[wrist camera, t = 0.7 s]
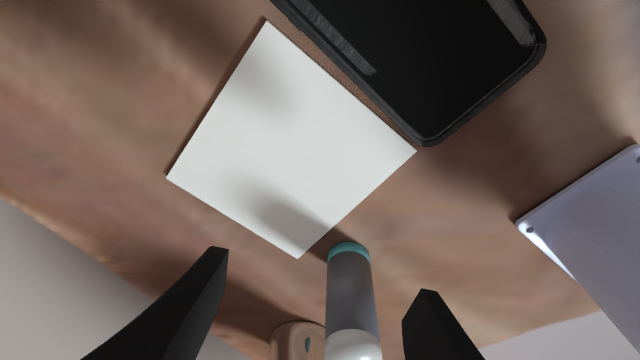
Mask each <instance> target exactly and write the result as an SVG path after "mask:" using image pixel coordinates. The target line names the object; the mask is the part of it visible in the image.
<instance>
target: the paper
mask: <svg viewBox="0 0 640 360" xmlns="http://www.w3.org/2000/svg"><path fill="white" fill-rule="evenodd" d="M416 152H417V150H416V149H415V148H414V147H413V146H412V145H411V144H410V143H409V142H407V141H406V140H405V139H404V138H403V137H402V136H400V135H399V134H398V133H397V132H396V131H395V130H394V129H392V128H391V127H390V126H389V125H388V124H387V123H386V122H384V121H383V120H382V119H381V118H380V117H379V116H377V115H376V114H375V113H374V112H373V111H372V110H371V109H369V108H368V107H367V106H366V105H365V104H364V103H363V102H361V101H360V100H359V99H358V98H357V97H356V96H354V95H353V94H352V93H351V92H350V91H349V90H348V89H346V88H345V87H344V86H343V85H342V84H341V83H340V82H338V81H337V80H336V79H335V78H334V77H333V76H331V75H330V74H329V73H328V72H327V71H326V70H325V69H323V68H322V67H321V66H320V65H319V64H318V63H317V62H315V61H314V60H313V59H312V58H311V57H310V56H308V55H307V54H306V53H305V52H304V51H303V50H302V49H300V48H299V47H298V46H297V45H296V44H295V43H294V42H292V41H291V40H290V39H289V38H288V37H287V36H285V35H284V34H283V33H282V32H281V31H280V30H279V29H277V28H276V27H275V26H274V25H273V24H272V23H271V22H269V21H268V20H267V21H266V23H265V24H264V26H263V27H262V29H261V30H260V32H259V33H258V35H257V37H256V38H255V40H254V41H253V43H252V44H251V46H250V47H249V49H248V51H247V52H246V54H245V55H244V57H243V58H242V60H241V62H240V63H239V65H238V66H237V68H236V69H235V71H234V72H233V74H232V76H231V77H230V79H229V80H228V82H227V83H226V85H225V86H224V88H223V90H222V91H221V93H220V94H219V96H218V97H217V99H216V100H215V102H214V104H213V105H212V107H211V108H210V110H209V111H208V113H207V115H206V116H205V118H204V119H203V121H202V122H201V124H200V125H199V127H198V129H197V130H196V132H195V133H194V135H193V136H192V138H191V139H190V141H189V143H188V144H187V146H186V147H185V149H184V150H183V152H182V153H181V155H180V157H179V158H178V160H177V161H176V163H175V164H174V166H173V168H172V169H171V171H170V172H169V174H168V175H167V177H166V179H168V180H169V181H171V182H173V183H174V184H176V185H178V186H179V187H181V188H182V189H184V190H186V191H187V192H189V193H191V194H192V195H194V196H195V197H197V198H199V199H200V200H202V201H204V202H205V203H207V204H209V205H210V206H212V207H213V208H215V209H217V210H218V211H220V212H222V213H223V214H225V215H226V216H228V217H230V218H231V219H233V220H235V221H236V222H238V223H240V224H241V225H243V226H244V227H246V228H248V229H249V230H251V231H253V232H254V233H256V234H257V235H259V236H261V237H262V238H264V239H266V240H267V241H269V242H271V243H272V244H274V245H275V246H277V247H279V248H280V249H282V250H284V251H285V252H287V253H288V254H290V255H292V256H293V257H295V258H297V259H298V258H299V257H300V256H301V255H303V254H304V253H305V252H306V251H307V250H308V249H309V248H310V247H311V246H313V245H314V244H315V243H316V242H317V241H318V240H319V239H320V238H321V237H322V236H324V235H325V234H326V233H327V232H328V231H329V230H330V229H331V228H332V227H334V226H335V225H336V224H337V223H338V222H339V221H340V220H341V219H342V218H344V217H345V216H346V215H347V214H348V213H349V212H350V211H351V210H352V209H353V208H355V207H356V206H357V205H358V204H359V203H360V202H361V201H362V200H363V199H365V198H366V197H367V196H368V195H369V194H370V193H371V192H372V191H373V190H375V189H376V188H377V187H378V186H379V185H380V184H381V183H382V182H383V181H385V180H386V179H387V178H388V177H389V176H390V175H391V174H392V173H393V172H394V171H396V170H397V169H398V168H399V167H400V166H401V165H402V164H403V163H404V162H406V161H407V160H408V159H409V158H410V157H411V156H412V155H413V154H414V153H416Z"/></svg>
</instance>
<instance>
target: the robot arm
mask: <svg viewBox="0 0 640 360" xmlns="http://www.w3.org/2000/svg"><path fill="white" fill-rule="evenodd" d="M639 157H640V145H638V144H634V145H631V146H629V147H627V148H626V149H624V150H623V151H621V152H620V153H618V154H617V155H615V156H614V157H612V158H610V159H609V160H607V161H606V162H604V163H603V164H601V165H600V166H598V167H597V168H595V169H594V170H592V171H591V172H589V173H588V174H586V175H585V176H583V177H582V178H580V179H579V180H577V181H576V182H574V183H573V184H571V185H570V186H568V187H567V188H565V189H564V190H562V191H560V192H559V193H557V194H556V195H554V196H553V197H551V198H550V199H548V200H547V201H545V202H544V203H542V204H541V205H539V206H538V207H536V208H535V209H533V210H532V211H530V212H529V213H527V214H526V215H524V216H523V217H521V218H520V219H518V220H517V221H516V223H515V226H516V227H517V229H518V230H519V231H520V232H521V233H523V234H524V235H525V236H526V237H527V238H528V239H529V240H530V241H532V242H533V243H534V244H535V245H536V246H537V247H538V248H540V249H541V250H542V251H543V252H544V253H545V254H546V255H547V256H549V257H550V258H551V259H552V260H553V261H554V262H555V263H557V264H558V265H559V266H560V267H561V268H562V269H563V270H564V271H566V272H567V273H568V274H569V275H570V276H571V277H572V278H573V279H575V280H576V281H577V282H578V283H579V284H580V285H581V286H582V287H583V288H584V290H585V291H586V292H587V293H588V294H589V295H590V297H591V298H592V299H593V300H594V301H595V302H596V304H597V305H598V306H599V307H600V308H601V309H602V311H603V312H605V314H606V315H607V316H608V318H609V319H610V320H611V321H612V322H613V323H614V324H615V325H616V327H617V328H618V329H619V330H620V332H621V333H622V334H623V335H624V336H625V337H626V339H627V340H628V341H629V342H630V343H631V344H632V346H633V347H634V348H635V349H636V350H637V351H638V352H639V354H640V158H639ZM637 158H639V159H637ZM529 227H530V228H529ZM527 228H529V229H527ZM228 254H229V249H225V248H220V247H215V246H211V247H209V248H208V249H207V250H206V251H205V252H204V254H203V255H202V256H201V257H200V258H199V259H198V260H197V261H196V262H195V263H194V264H193V266H192V267H191V268H190V269H189V270H188V271H187V272H186V273H185V274H184V275H183V276H182V277H181V278H180V279H179V280H178V281H177V282H175V283H174V284H173V285H172V286H171V287H170V288H169V289H168V290H167V291H166V292H165V293H164V294H163V295H162V296H161V297H159V298H158V299H157V300H156V301H155V302H154V303H153V304H151V305H150V306H149V307H148V308H147V309H146V310H145V311H143V312H142V313H141V314H140V315H139V316H138V317H136V318H135V319H134V320H133V321H131V322H130V323H129V324H128V325H127V326H125V327H124V328H123V329H122V330H120V331H119V332H118V333H116V334H115V335H114V336H112V337H111V338H110V339H108V340H107V341H106V342H104V343H103V344H102V345H100V346H99V347H97V348H96V349H95V350H93V351H92V352H90V353H89V354H88V355H86V356H85V357H83V358H82V359H81V360H195V359H196V357H197V355H198V353H199V350H200V348H201V346H202V344H203V342H204V340H205V337H206V335H207V333H208V331H209V329H210V327H211V324H212V322H213V320H214V318H215V316H216V313H217V310H218V307H219V304H220V301H221V298H222V295H223V292H224V289H225V284H226V274H227V264H228ZM402 336H403V347H404V354H405V360H485V359H484V358H483V356H482V355H481V353H480V352H479V351H478V349H477V348H476V347H475V345H474V344H473V342H472V341H471V340H470V338H469V337H468V335H467V334H466V333H465V331H464V330H463V328H462V327H461V325H460V324H459V322H458V321H457V320H456V318H455V317H454V315H453V314H452V312H451V311H450V309H449V308H448V306H447V305H446V304H445V302H444V301H443V299H442V298H441V296H440V295H439V294H438V292H437V291H432V290H427V289H422V288H421V290H420V291H419V293H418V295H417V296H416V298H415V300H414V301H413V303H412V305H411V307H410V308H409V310H408V312H407V313H406V315H405V317H404V318H403V320H402Z"/></svg>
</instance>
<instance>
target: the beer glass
mask: <svg viewBox="0 0 640 360" xmlns="http://www.w3.org/2000/svg"><path fill="white" fill-rule="evenodd" d="M324 346H325V328H324V327H322V326H320V325H318V324H315V323H312V322H306V321H293V322H288V323H285V324H282V325H280V326H279V327H277V328H276V329H275V330H274V331H273V333H272V335H271V340H270V360H324Z"/></svg>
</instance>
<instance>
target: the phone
mask: <svg viewBox="0 0 640 360" xmlns="http://www.w3.org/2000/svg"><path fill="white" fill-rule="evenodd" d="M270 1H271V2H272V3H273V4H274V5H275V6H276V7H277V8H278V9H279V10H280V11H281V12H282V13H283V14H285V15H286V16H287V17H288V20H289V21H290V22H291V23H293V24H294V25H295V26H296V27H297V28H298V29H299V30H300V31H302V32H303V33H304V34H305V35H306V36H307V37H309V38H310V39H311V40H312V41H313V42H314V43H315V44H316V45H317V46H318V47H319V48H320V49H321V50H322V51H323V52H324V53H325V54H326V55H327V56H328V57H329V58H330V59H331V60H332V61H333V62H334V63H335V64H336V65H337V66H338V67H339V68H340V69H341V70H342V71H343V72H344V73H345V74H346V75H347V76H348V77H349V78H350V79H351V80H352V81H353V82H354V83H355V84H356V85H357V86H358V87H359V88H360V89H361V90H362V91H363V92H364V93H365V94H366V95H367V96H368V97H369V98H370V99H371V100H372V101H373V102H374V103H375V104H376V105H377V106H378V107H379V108H380V109H381V110H382V111H383V112H384V113H385V114H386V115H387V116H388V117H389V118H390V119H391V120H392V121H393V122H394V123H395V124H396V125H397V126H398V127H399V128H400V129H401V130H402V131H403V132H404V133H405V134H406V135H407V136H408V137H409V138H410V139H411V140H412V141H413V142H415V143H416V144H418V145H419V146H423V147H432V146H435V145H438V144H439V143H441V142H443V141H444V140H445V139H447V138H448V137H449V136H450V135H452V134H453V133H454V132H455V131H457V130H458V129H459V128H460V127H461V126H463V125H464V124H465V123H466V122H468V121H469V120H470V119H471V118H473V117H474V116H475V115H476V114H478V113H479V112H480V111H481V110H483V109H484V108H485V107H486V106H488V105H489V104H490V103H491V102H493V101H494V100H495V99H496V98H498V97H499V96H500V95H501V94H503V93H504V92H505V91H506V90H508V89H509V88H510V87H511V86H513V85H514V84H515V83H516V82H518V81H519V80H520V79H521V78H523V77H524V76H525V75H526V74H528V73H529V72H530V71H531V70H532V69H534V68H535V67H536V66H537V65H538V64H539V63H540V61H541V59H542V58H543V56H544V54H545V50H546V47H547V43H546V37H545V35H544V32H543V31H542V29H541V28H540V26H539V25H538V24H537V22H536V21H535V19H534V18H533V16H532V15H531V13H530V12H529V10H528V9H527V7H526V6H525V4H524V3H523V1H522V0H270Z"/></svg>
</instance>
